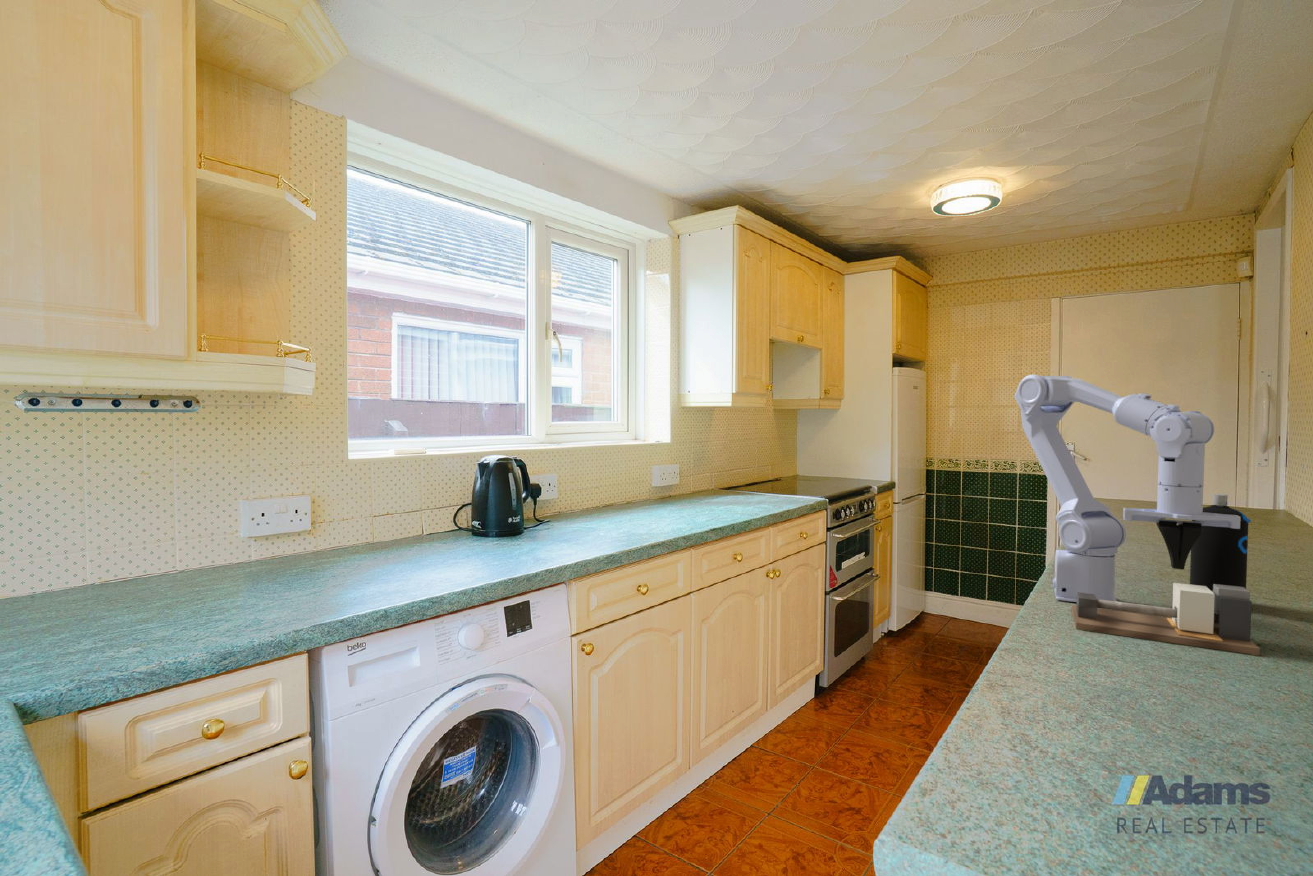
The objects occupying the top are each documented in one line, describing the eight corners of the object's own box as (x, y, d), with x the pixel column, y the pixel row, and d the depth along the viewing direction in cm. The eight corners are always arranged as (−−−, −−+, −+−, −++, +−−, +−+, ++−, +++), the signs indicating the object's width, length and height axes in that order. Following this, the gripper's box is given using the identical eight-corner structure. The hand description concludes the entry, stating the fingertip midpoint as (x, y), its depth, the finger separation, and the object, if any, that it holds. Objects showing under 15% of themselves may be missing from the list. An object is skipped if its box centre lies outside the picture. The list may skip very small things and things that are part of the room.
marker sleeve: (1178, 629, 95) (1180, 590, 95) (1172, 620, 100) (1173, 582, 99) (1213, 634, 93) (1214, 594, 93) (1204, 624, 98) (1205, 586, 97)
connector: (1218, 637, 93) (1220, 590, 93) (1210, 627, 97) (1211, 582, 97) (1250, 641, 91) (1252, 593, 91) (1239, 631, 96) (1241, 585, 95)
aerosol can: (1194, 605, 112) (1198, 495, 112) (1181, 594, 120) (1185, 491, 119) (1255, 612, 108) (1259, 498, 108) (1238, 600, 116) (1241, 493, 115)
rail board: (1076, 628, 100) (1076, 603, 99) (1071, 610, 109) (1071, 586, 109) (1259, 655, 89) (1260, 626, 88) (1236, 632, 98) (1237, 606, 98)
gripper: (1127, 484, 101) (1125, 567, 102) (1247, 490, 94) (1243, 579, 94) (1122, 481, 107) (1120, 558, 108) (1234, 486, 100) (1231, 569, 100)
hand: (1177, 567), depth 101 cm, fingers closed
